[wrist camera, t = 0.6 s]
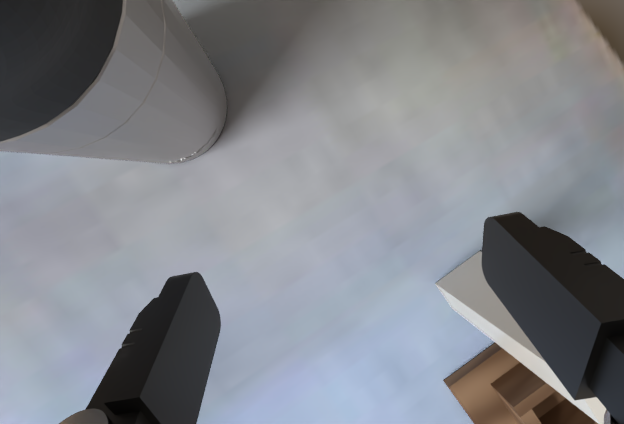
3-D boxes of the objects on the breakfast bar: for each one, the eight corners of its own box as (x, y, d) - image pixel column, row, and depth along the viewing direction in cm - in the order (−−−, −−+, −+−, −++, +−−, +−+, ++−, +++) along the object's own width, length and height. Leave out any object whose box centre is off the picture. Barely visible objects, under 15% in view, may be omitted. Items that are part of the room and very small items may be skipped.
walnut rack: (443, 380, 31) (467, 411, 27) (579, 280, 31) (623, 296, 27) (504, 466, 33) (536, 507, 29) (632, 372, 33) (681, 399, 29)
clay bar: (435, 283, 29) (573, 381, 16) (479, 251, 29) (657, 320, 16) (451, 308, 30) (601, 425, 16) (495, 276, 30) (681, 366, 16)
